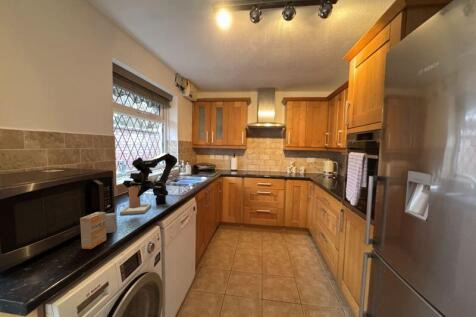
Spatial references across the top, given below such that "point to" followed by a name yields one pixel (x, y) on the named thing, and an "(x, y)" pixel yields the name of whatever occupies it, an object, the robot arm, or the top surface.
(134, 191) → the reddish-brown tall piece
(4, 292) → the top surface
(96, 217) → the supplement box
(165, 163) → the robot arm
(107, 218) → the medicine box
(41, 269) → the top surface
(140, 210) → the tray
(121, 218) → the top surface
